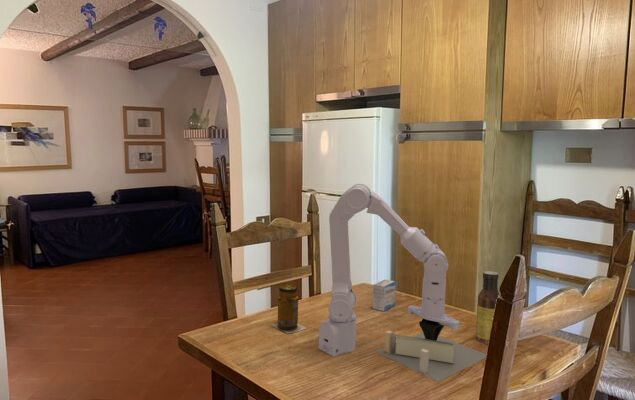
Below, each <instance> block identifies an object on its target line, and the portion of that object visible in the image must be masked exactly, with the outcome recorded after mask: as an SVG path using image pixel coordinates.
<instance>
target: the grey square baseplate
mask: <svg viewBox="0 0 635 400" xmlns="http://www.w3.org/2000/svg"><path fill="white" fill-rule="evenodd" d="M392 334H394V331H391V330H386V331H385V332H384V347H381V348H378V349H376V350H374V352H375V353H376V354H378V355H381V356H383V357H385V358H387V359H389V360H391V361H393V362H396V363H398V364H400V365H401V366H404V367H406V368H408V369H410V370H412V371H414V372H417V373H418V374H421V375H423V376H426V377H427V378H429V379H431V380H433V381H435V382H437V383H438V382H441V381H442V380H444V379H446V378H448V377H450V376H453V375H454V374H456V373H458V372H460V371H463V370H464V369H467V368H468V367H470V366H473V365H475V364H477V363H478V362H481V361H483V360H484V359H486V354H487V353H485V352H481V351H478V350H476V349H474V348H471V347H469V346H467V345H466V346H465V345H464V344H460V343H458V342H455V341H453V340H451V339H448V338H445V337H443V336H440V335H439V336H438V338H437V341H442V342H449V343H454V353H453V363H448V362H442V361H436V360H430V359H429V351H428V350H425V349H422V350H420V358H419V357H413V356H407V355H401V354H396V346H395V353H392V352H391V348H392ZM411 337H416V338H423V339H425V336H424V333H423V332H421V333H418V334H415V335H413V336H411Z"/></svg>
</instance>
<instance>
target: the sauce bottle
mask: <svg viewBox="0 0 635 400" xmlns="http://www.w3.org/2000/svg"><path fill="white" fill-rule="evenodd" d="M482 278H483V279H482V280H483V281H482V289H481V291H479V293H478V295H477V305H476V306H477V308H476V327H475V336H476V337H475V338H476V340H477V341H478V342H480V343H482V344H484V345H485V344H486V345H489V344H488V341H489V336H490V330H491V325H492V318H493V315H494V309H495V304H496V299H497V297H498V295H500V293H499V289H498V280H499V272H496V271H493V270H492V271H491V270H490V271H489V270H487V271H486V270H485V271H483V272H482Z"/></svg>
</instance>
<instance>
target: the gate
mask: <svg viewBox="0 0 635 400" xmlns="http://www.w3.org/2000/svg"><path fill="white" fill-rule="evenodd" d="M395 346H396V354H401V355H407V356H413V357H419V358H420V350H422V349H425V350H428V351H429V359H430V360H436V361H442V362H448V363H453V353H454V343H449V342H442V341H436V340H429V339H423V338H416V337H412V336H409V335H408V336H407V335H401V334H397V335H396V334H394V333H393V334H392V348H391V352H392V353H395Z"/></svg>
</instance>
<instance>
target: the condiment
mask: <svg viewBox="0 0 635 400" xmlns="http://www.w3.org/2000/svg"><path fill="white" fill-rule="evenodd" d="M278 290H279V291H278V294H279V295H278V296H277V323H273V324H271V326H272V327H273V328H275V329H277V330H279V331H282V332H283V333H285V334H292V333H296V332H300V331H304V330H307V329H308V328H307V327H305V326H304V325H302V324H299V323H298V322H299V321H298V320H299V296H298V287H297V286H295V285H289V284H286V285H281V286H280V287H279V289H278Z"/></svg>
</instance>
